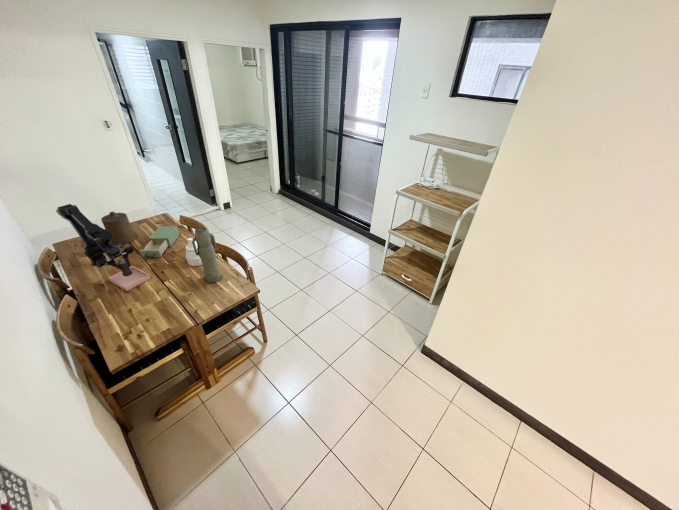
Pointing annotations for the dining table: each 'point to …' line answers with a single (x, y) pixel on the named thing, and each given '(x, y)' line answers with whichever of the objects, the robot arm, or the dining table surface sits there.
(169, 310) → the dining table surface
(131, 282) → the tray
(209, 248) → the thermos
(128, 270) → the pepper mill
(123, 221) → the wooden container
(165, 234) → the cabinet
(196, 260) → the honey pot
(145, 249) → the drawer
